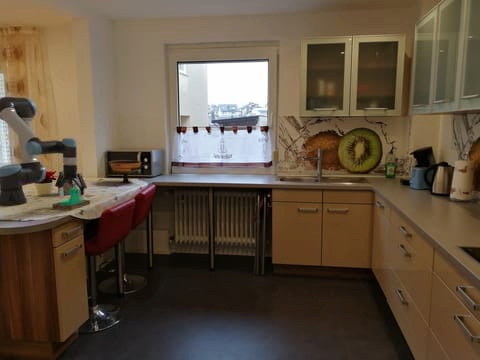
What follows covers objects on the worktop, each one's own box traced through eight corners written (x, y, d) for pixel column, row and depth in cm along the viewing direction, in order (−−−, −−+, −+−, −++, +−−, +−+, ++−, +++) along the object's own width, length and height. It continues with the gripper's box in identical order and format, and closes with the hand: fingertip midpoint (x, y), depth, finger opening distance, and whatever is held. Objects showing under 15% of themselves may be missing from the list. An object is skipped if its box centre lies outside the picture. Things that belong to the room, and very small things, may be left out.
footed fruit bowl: (97, 182, 307) (97, 161, 304) (118, 178, 330) (118, 159, 327) (133, 187, 293) (133, 164, 290) (152, 182, 316) (152, 161, 314)
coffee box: (78, 192, 265) (77, 170, 262) (73, 194, 259) (72, 171, 256) (66, 192, 266) (65, 169, 264) (61, 193, 260) (59, 171, 257)
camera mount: (73, 202, 232) (72, 186, 231) (83, 203, 230) (83, 187, 229) (59, 206, 221) (58, 189, 219) (70, 207, 219) (69, 190, 217)
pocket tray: (52, 208, 219) (52, 204, 219) (72, 202, 235) (71, 198, 235) (71, 210, 216) (71, 206, 216) (90, 203, 232) (89, 200, 232)
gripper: (47, 163, 221) (49, 198, 224) (84, 166, 215) (85, 202, 219) (56, 162, 228) (58, 196, 232) (92, 165, 222) (93, 199, 226)
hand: (71, 199), depth 225 cm, fingers open, 13 cm apart
